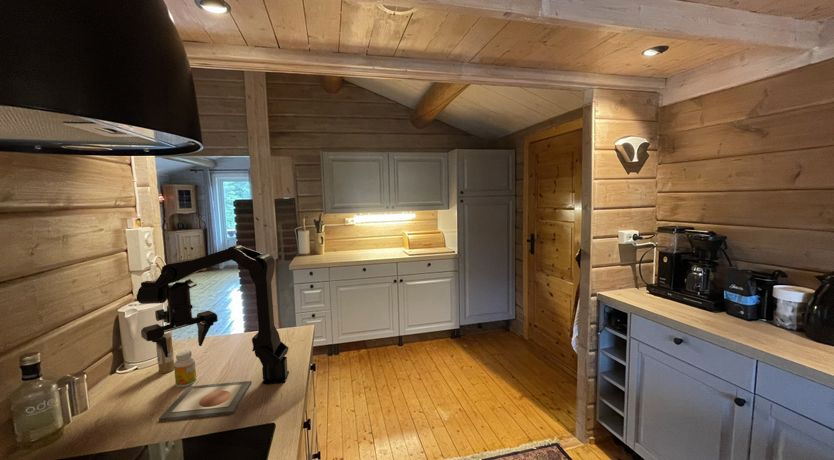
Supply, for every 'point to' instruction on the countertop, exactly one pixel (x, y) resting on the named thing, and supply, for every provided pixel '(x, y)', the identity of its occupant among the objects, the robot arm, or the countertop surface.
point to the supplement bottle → (184, 369)
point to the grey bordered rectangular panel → (207, 401)
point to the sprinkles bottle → (164, 362)
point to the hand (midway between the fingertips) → (183, 351)
